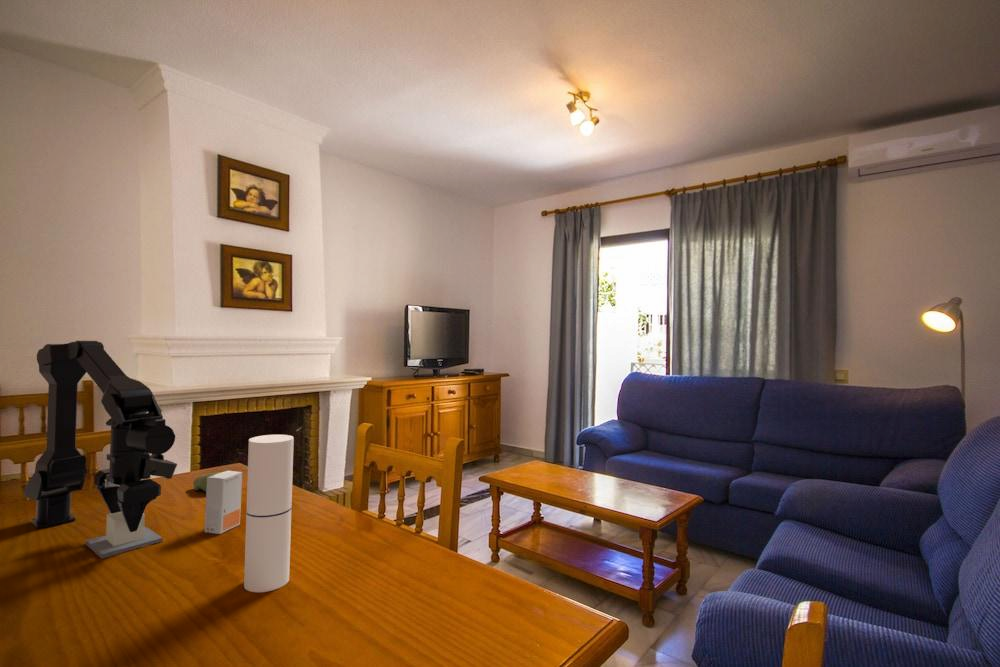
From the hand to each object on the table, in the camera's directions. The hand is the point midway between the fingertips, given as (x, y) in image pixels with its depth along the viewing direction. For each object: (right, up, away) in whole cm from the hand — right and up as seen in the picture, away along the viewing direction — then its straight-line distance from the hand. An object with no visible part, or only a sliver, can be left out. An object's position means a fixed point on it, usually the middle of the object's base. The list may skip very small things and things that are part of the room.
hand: (125, 525), depth 100 cm
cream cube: (0, -3, 0) cm, 3 cm away
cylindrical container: (+36, -5, -14) cm, 39 cm away
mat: (0, -4, 0) cm, 4 cm away
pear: (-3, -4, +34) cm, 35 cm away
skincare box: (+15, -4, +9) cm, 18 cm away
